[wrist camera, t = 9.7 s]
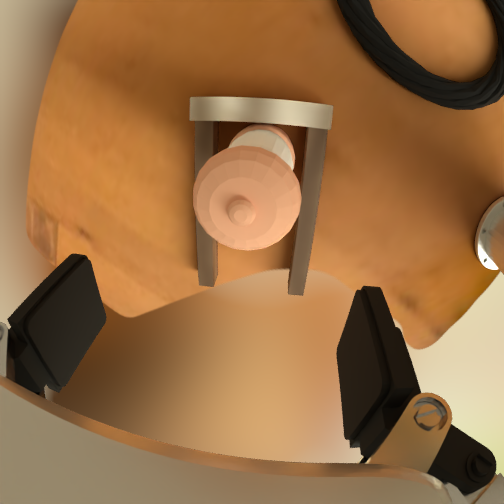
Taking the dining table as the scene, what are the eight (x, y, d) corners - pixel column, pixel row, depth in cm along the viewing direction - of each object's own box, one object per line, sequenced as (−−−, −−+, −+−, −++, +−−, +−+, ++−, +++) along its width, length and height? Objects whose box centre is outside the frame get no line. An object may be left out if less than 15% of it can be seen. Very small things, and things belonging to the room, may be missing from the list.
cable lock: (304, 39, 23) (365, -114, 8) (301, 45, 27) (359, -102, 12) (500, 151, 25) (532, -6, 10) (484, 145, 28) (518, -4, 13)
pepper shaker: (220, 162, 34) (159, 232, 17) (252, 111, 31) (216, 126, 14) (271, 193, 35) (260, 290, 19) (306, 145, 32) (332, 200, 15)
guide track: (325, 104, 29) (333, 105, 25) (302, 282, 41) (303, 305, 37) (202, 96, 30) (190, 97, 26) (204, 273, 42) (195, 294, 38)
